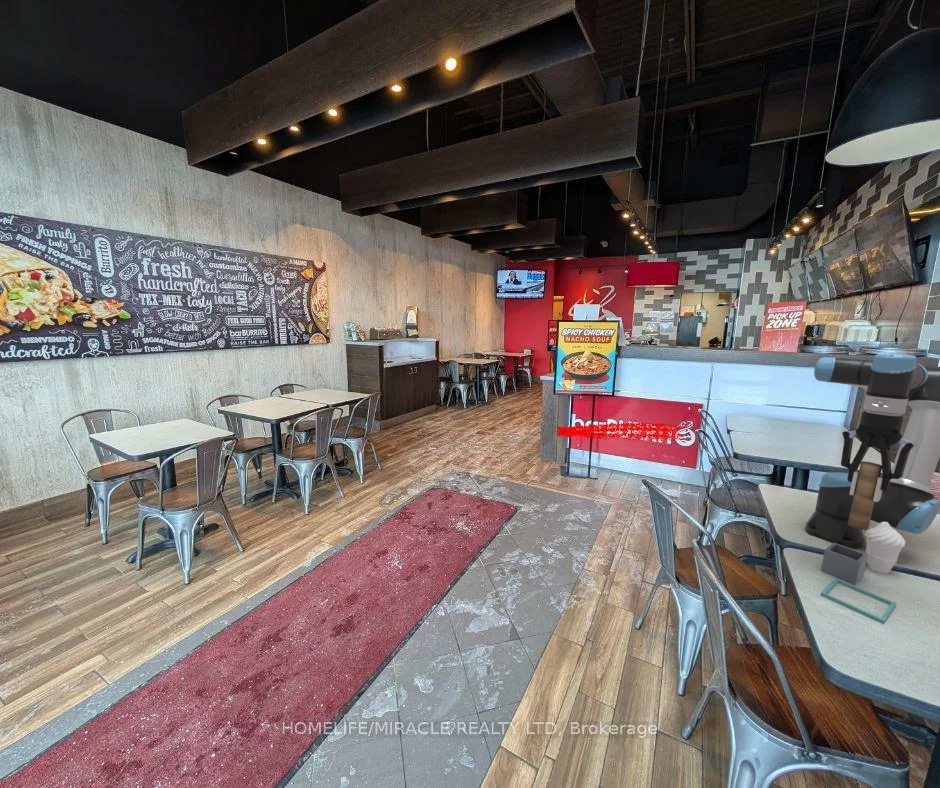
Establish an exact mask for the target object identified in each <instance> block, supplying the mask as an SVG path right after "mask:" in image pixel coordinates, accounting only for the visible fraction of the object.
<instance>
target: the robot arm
mask: <svg viewBox="0 0 940 788" xmlns="http://www.w3.org/2000/svg"><path fill="white" fill-rule="evenodd" d="M813 372H814V373H813V375H814V378H815V379H816V381H818V382H824V383H825V382H826V383H832V384H842V385H848V386H853V387H860V388H862V390H865V391H866V392H865V393H866V394H865V397H864V403H863V406H862V407H863V408H862V409H863V410H865V411H863V412H861V417H860V420H859V425H858V427H857V428H856V429H855V430H845V431H843V432H842V437H843V447H842V454H841V460H840V466H841V467H844V468H846V469H847V470H848V472H834V471H833V472H826V473H825V474H823V475H822V476H821V478H820V479H821V480H820V483H819V485H818V486H819V487H818V488H819V489H818V494H817V500H816V504H815V510H814V512H813V513H812V515H811V516H810V517H809V519H808V520H807V521H806V522H805V523H806V524H805V528H804V529H805V532H806V533H807V534H809V535H810V536H812V537H814V538H817V539H821V540H823V541H826V542H828V543H831V544H832V543H833V542H834V543H837V544H840V545H842V546H845V547H848V548H851V549H861V548H863V547H864V544H865V534H864V530H860V529H856V528H853V527H851V526H849V525H848V521H849V516H850V511H851V507H852V502H853V497H854V493H855V488H856V483H857V479H858V474H859V468H860V465H861V462H863V460H864V458H865V456H866V454H867V452H868V451H869V449H870V448H871V447H872V448H876V449H879V452H880V457H881V458H880V459H881V465H882V470H881V473H882V475H880V477H878V480H877V485H876V489H875V494H874V498H873V501H875V502H874V506H873V510H872V515H871V519H870V521H872V522H875V523H878V524H880V523H881V522H888V523H889V525H890V526H891V527H892V528H893V529H897V530H899V531H903V532H907V533H911V534H914V535H916V534H917V535H919V534H922V533H924V532H926V531H927V530H928V529H929V527H930V526H931V525H932V523H933V522H934V520H935V518H936V516H937V515H938V512H939V509H940V502H939V501H937V499H934V498H935V493H934V492H933V491H932V490H931V488H930V487H931V482H932V480H933V477H934V474H935V471H936V468H937V466H938V462H939V460H940V366H931V365H930V366H929V365H921V364H920V363H917V356H915V355H914V354H899V353H877V354H875V356H874V358H873V359H861V358H859V359H858V358H846V357H845V358H844V357H820V358H819V359H818V360H817V361H816V362H815V365H814V370H813ZM907 405H908V406H909V407H910V409H912V411H911V413H910V416H909V419H908V422H907V425H906V427H905V431H904V433H903V435H902V434H901V433H902V432H901V430H902V426H903V423H904V417H903V415H904V414H906V409H907ZM856 435H857V437H858V439H859V440H860V442H861V444H860V445H859V448H858V450H857V452H856V454H855V456H854V457H853V460H852V462H851V458H852V457H851V456H852V451H853V450H852V449H853V444H854V439H856ZM897 443H899V448H898V451H897V454H896V457H895V459H894V462H893V465H892V460H891V447H893V446H894V445H895V444H897Z"/></svg>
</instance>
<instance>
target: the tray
mask: <svg viewBox="0 0 940 788" xmlns="http://www.w3.org/2000/svg"><path fill="white" fill-rule="evenodd" d="M838 584H839V585H841V586H844V587H846V588H848V589H850V590H853V591H856V592H858V593H860V594H863V595H865V596H868V597H870V598H872V599H874V600H877V601H878V602H882V603H884V604H886V605H888V606H887V608H886V609H885V611H884V612H883V613H882V615H881V616H878V615H876V614H873V613H871V612H869V611H866V610H864V609H862V608H859V607H858V606H855V605H853V604H850V603H848V602H846V601H844V600H842V599H839V598H837V597H835V596H832V595H830V592H831V591H832V590H833V589H834V588H836V586H837V585H838ZM819 596H821V597H822V598H825V599H826V600H829V601H831V602H834V603H836V604H839V605H840V606H843V607H845V608H847V609H850V610H852V611H854V612H856V613H858V614H860V615H862V616H865V617H867V618H869V619H871V620H873V621H876V622H878V623H879V624H882V625H884V624H885V623H886V621H887V620H888V619H889V617H891V616H890V615H891V614H892V613H893V611H894V609H895V608H896V606H897V603H896V602H895V601H892V600H889V599H887V598H885V597H882V596H881V595H878V594H875V593H873V592H871V591H868V590H866V589H863V588H860V587H859V586H857V585H856V586H855V585H853V584H851V583H848V582H846V581H843V580H841V579H839V578H836V577H834V579H833V580H832V581H831V582H830V583H829V584H827V586H826V587H825V588H824V589H823V590H822V591H821V592H820V595H819Z"/></svg>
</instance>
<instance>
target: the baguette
mask: <svg viewBox="0 0 940 788" xmlns="http://www.w3.org/2000/svg"><path fill="white" fill-rule="evenodd" d="M858 471H859V474H858V479H857V483H856V488H855V493H854V497H853V502H852V507H851V511H850V516H849V521H848V525H849V526H851V527H853V528H856V529H860V530H862V531H866V530H869V528H870V523H871V520H870V519H871V515H872V510H873V506H874V502H875V501H873V498H874V494H875V489H876V485H877V480H878V477H880V476H882V475H881V473H882V464H878V463H875V462H870V461H862V462H861V464H860V465H859V468H858Z"/></svg>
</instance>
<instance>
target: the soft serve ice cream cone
mask: <svg viewBox="0 0 940 788" xmlns="http://www.w3.org/2000/svg"><path fill="white" fill-rule="evenodd" d="M864 537H866V538H865V539H866V540H865V542H866V546H865V548H866V549H865V554H867V555H868V558H867V563H866V565H867V567H868V569H870V570H873V572H877V573H880V574H887V575H888V574H890V572H891V571H892V569H893V567H894V565H895V564H896V563H897V562H898V559H899V555H900V553H901V552H902V549H903V548H904V547H905V546H906V540H905V538H904V537H903V536H902V535H901V533H899V532H898V531H897V530H896V529H895V528H893V527H891V526H890V525H889V523H888V522H881V523H878V524H877V525H876V526H875V527H871V528H870V529H868V530H865V533H864Z"/></svg>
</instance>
